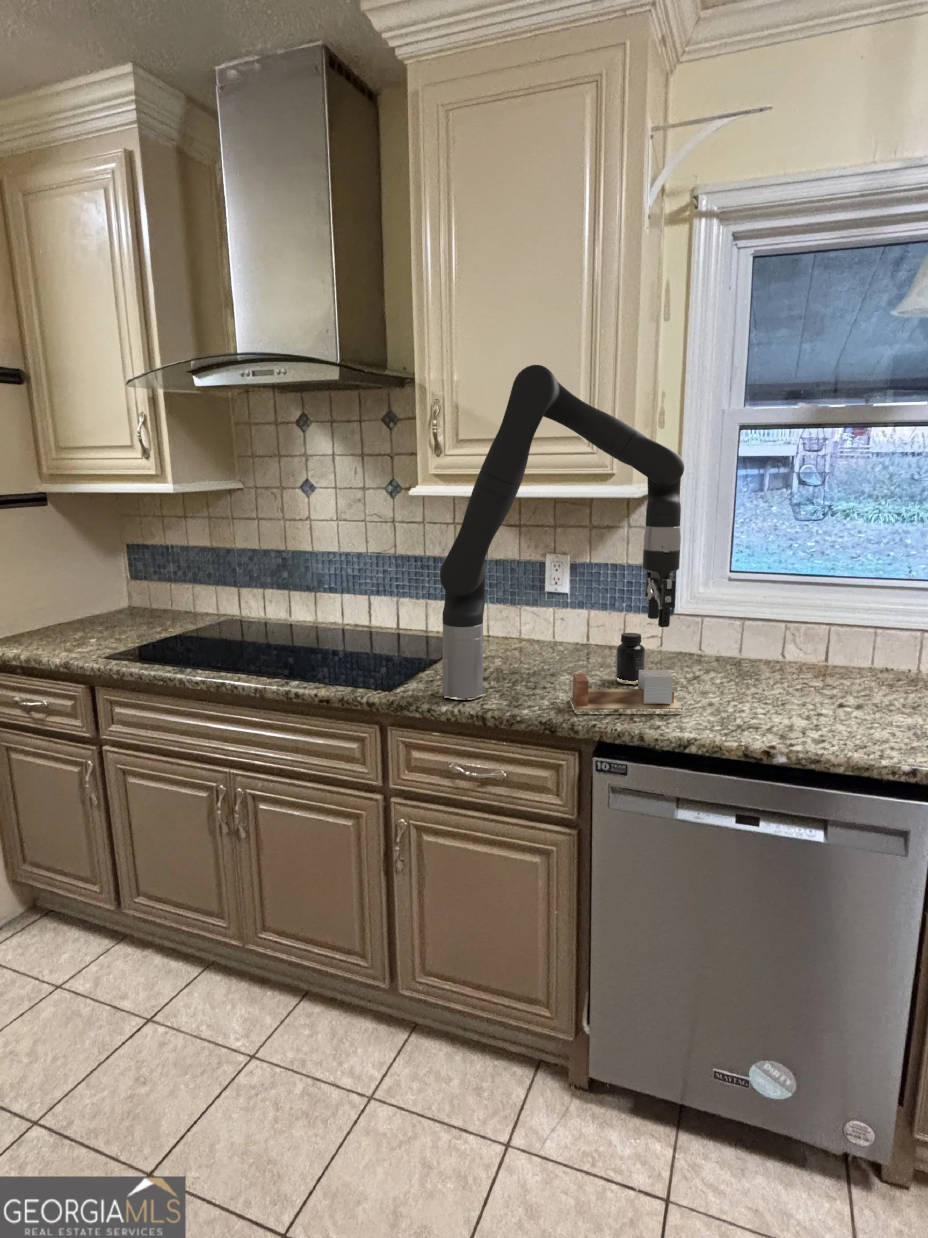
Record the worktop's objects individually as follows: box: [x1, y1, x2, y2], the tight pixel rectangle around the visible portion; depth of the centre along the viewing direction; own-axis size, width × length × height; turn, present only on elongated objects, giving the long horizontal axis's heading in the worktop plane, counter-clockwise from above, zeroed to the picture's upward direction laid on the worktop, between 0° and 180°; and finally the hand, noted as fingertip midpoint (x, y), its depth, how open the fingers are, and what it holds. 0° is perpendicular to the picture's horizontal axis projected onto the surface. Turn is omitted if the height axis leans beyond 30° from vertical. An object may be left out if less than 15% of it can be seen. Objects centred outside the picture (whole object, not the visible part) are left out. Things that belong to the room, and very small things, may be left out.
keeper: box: [637, 669, 674, 704], centre depth 159 cm, size 6×6×6 cm
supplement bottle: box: [615, 632, 646, 681], centre depth 178 cm, size 7×7×12 cm
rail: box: [568, 673, 684, 711], centre depth 159 cm, size 23×9×7 cm, turn 90°
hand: (658, 622), depth 157 cm, fingers open, 8 cm apart
